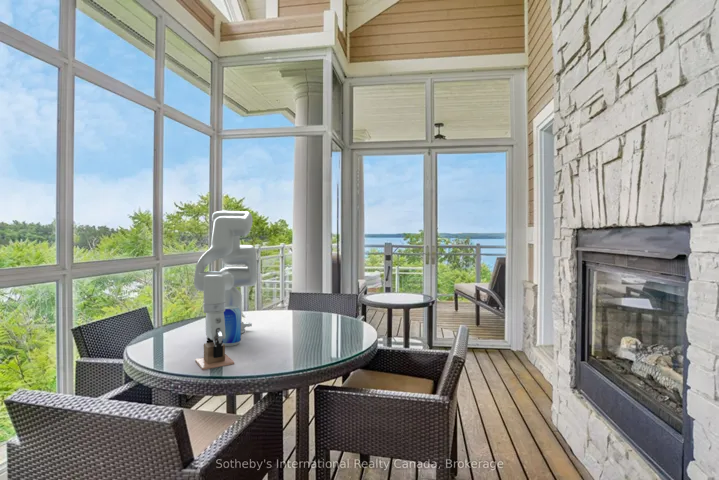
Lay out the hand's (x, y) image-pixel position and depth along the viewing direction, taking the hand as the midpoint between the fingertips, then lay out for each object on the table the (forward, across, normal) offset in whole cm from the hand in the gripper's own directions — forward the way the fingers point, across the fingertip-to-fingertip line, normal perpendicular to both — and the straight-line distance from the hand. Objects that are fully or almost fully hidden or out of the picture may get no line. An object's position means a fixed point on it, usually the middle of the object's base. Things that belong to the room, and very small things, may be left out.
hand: (214, 353), depth 141 cm
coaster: (+3, 0, 0) cm, 3 cm away
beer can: (+4, +21, -12) cm, 24 cm away
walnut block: (+2, 0, 0) cm, 3 cm away
